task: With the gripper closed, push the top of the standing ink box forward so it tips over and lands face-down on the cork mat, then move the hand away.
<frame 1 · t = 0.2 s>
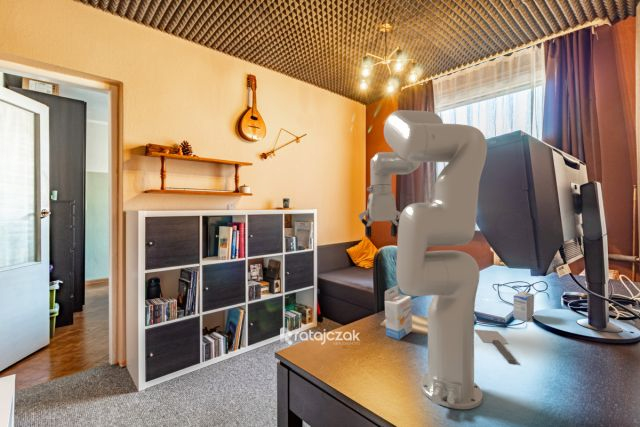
hand: (381, 236, 110), 31 cm above the table, tool pointing down, fingers open, 9 cm apart
cork mat: (408, 323, 106), on the table
steel turner: (496, 344, 89), on the table
medicine box: (523, 318, 110), on the table
ink box: (399, 333, 97), on the table, touching cork mat
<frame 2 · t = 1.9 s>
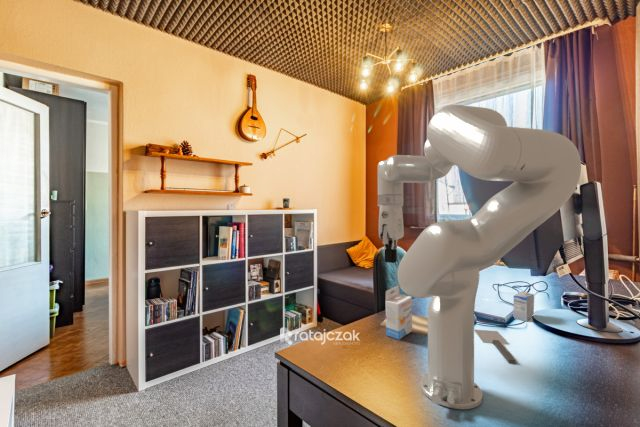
hand: (390, 261, 90), 25 cm above the table, tool pointing down, fingers closed
nothing on the table moved.
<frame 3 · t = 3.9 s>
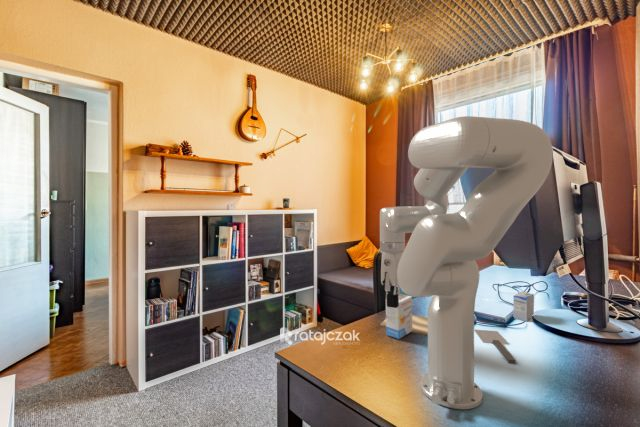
hand: (392, 306, 92), 11 cm above the table, tool pointing down, fingers closed
ink box: (399, 333, 97), on the table, touching cork mat, gripper
everything else where it was.
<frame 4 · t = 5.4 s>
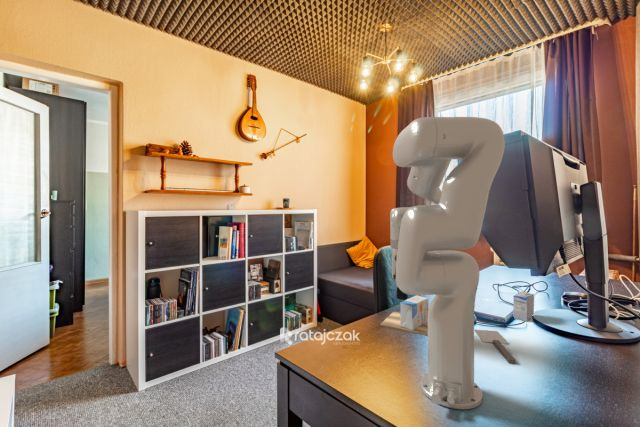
hand: (402, 298, 100), 11 cm above the table, tool pointing down, fingers closed
ink box: (405, 316, 100), point 5 cm above the table, touching cork mat
everything else where it was.
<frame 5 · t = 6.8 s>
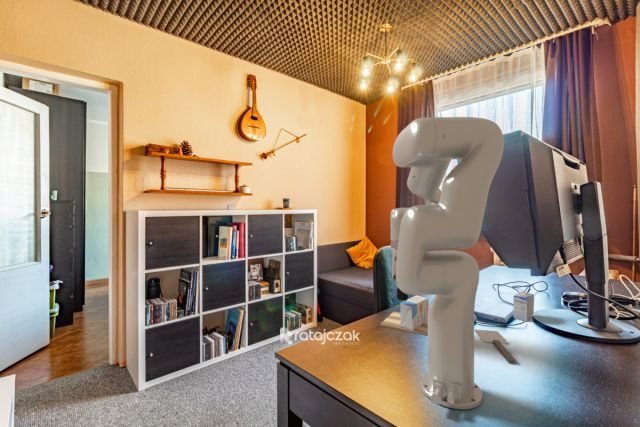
hand: (402, 299, 100), 11 cm above the table, tool pointing down, fingers closed
nothing on the table moved.
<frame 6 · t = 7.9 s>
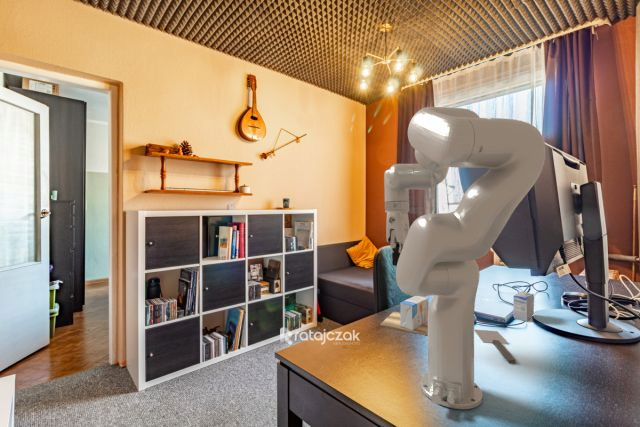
hand: (398, 265, 94), 23 cm above the table, tool pointing down, fingers closed
nothing on the table moved.
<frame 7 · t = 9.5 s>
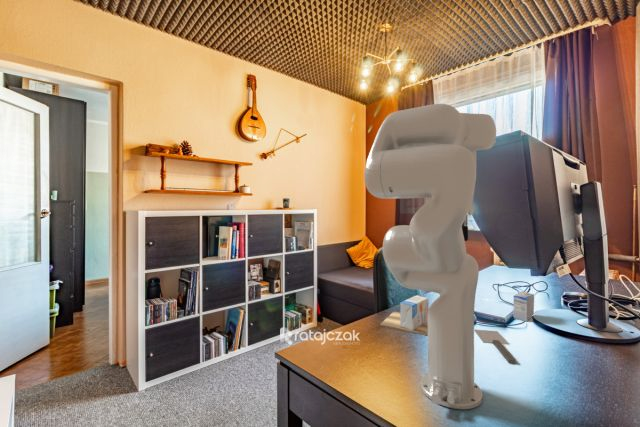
hand: (461, 240, 83), 32 cm above the table, tool pointing down, fingers closed
nothing on the table moved.
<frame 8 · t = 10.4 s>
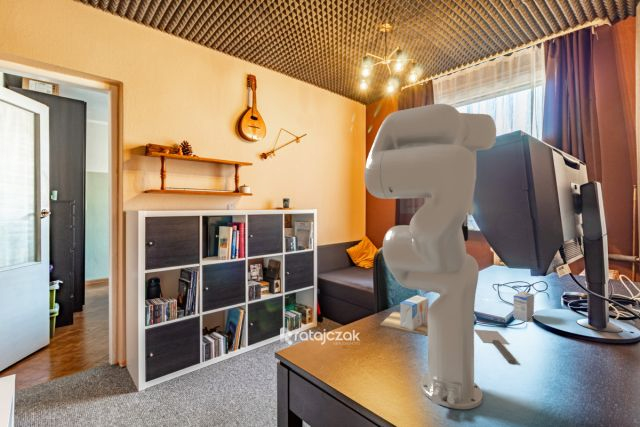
hand: (461, 240, 83), 32 cm above the table, tool pointing down, fingers closed
nothing on the table moved.
at the end: ink box tilted 90°; ink box inside the target area on the cork mat (6.7 cm from its centre), point 4.8 cm above the cork mat's base; ink box touching cork mat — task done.
